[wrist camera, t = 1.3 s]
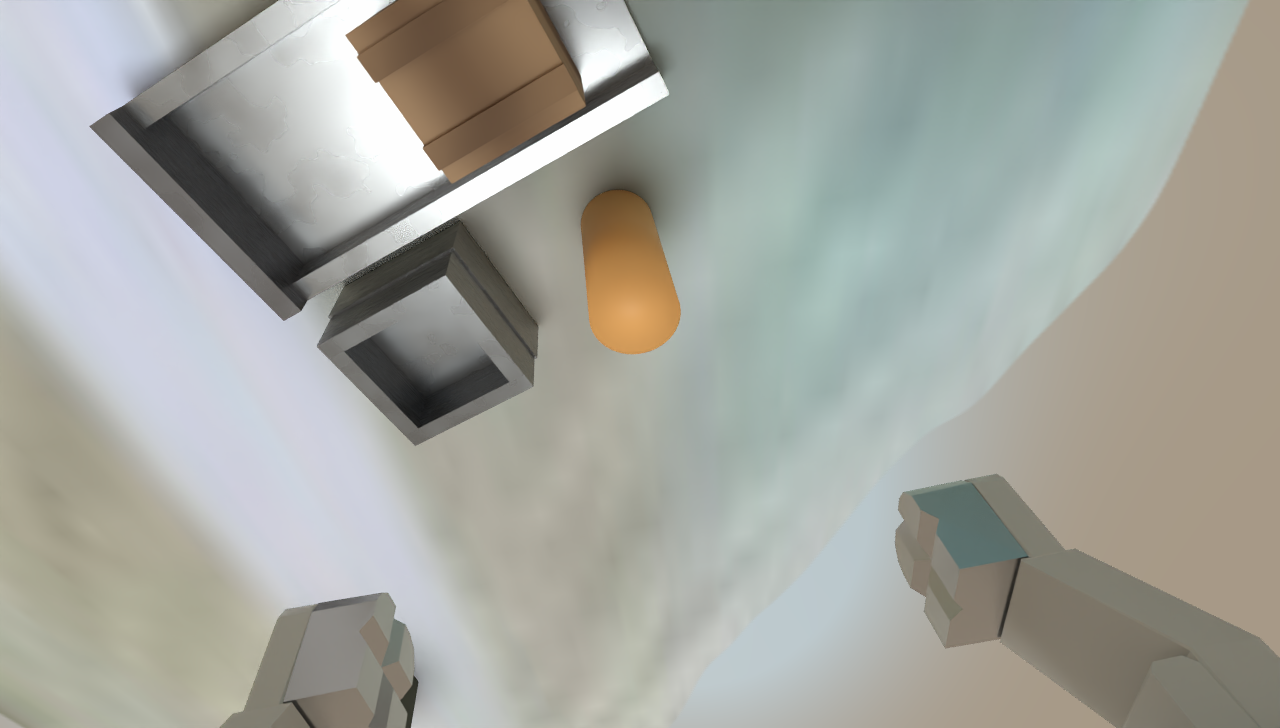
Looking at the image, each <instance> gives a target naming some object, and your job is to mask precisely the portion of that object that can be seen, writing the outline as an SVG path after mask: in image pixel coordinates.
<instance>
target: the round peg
mask: <svg viewBox="0 0 1280 728" xmlns="http://www.w3.org/2000/svg"><path fill="white" fill-rule="evenodd" d="M581 232H582V243H583V254H584V265H585V277H586V288H587V299H588V311H589V322H590V326H591V329H592V331H593V333H594V335H595V336H596V338H597V339H598V340H599V341H600V342H601V343H602V344H603V345H605V346H606V347H608V348H609V349H611V350H614V351H616V352H620V353H625V354H640V353H645V352H648V351H651V350H654V349H656V348H658V347H659V346H661V345H663V344H664V343H665V342H666V341H667V340H668V339H670V337H671V336H672V335H673V334H674V332H675V330H676V329H677V326H678V324H679V321H680V315H681V309H680V303H679V300H678V297H677V294H676V290H675V287H674V284H673V281H672V278H671V274H670V271H669V268H668V265H667V261H666V258H665V255H664V252H663V249H662V245H661V242H660V239H659V236H658V232H657V229H656V226H655V223H654V220H653V216H652V213H651V210H650V208H649V206H648V205H647V203H646V202H645V201H644V200H643V199H642V198H641V197H639V196H638V195H636V194H634V193H632V192H629V191H626V190H610V191H606V192H603V193H601V194H599V195H598V196H596V197H595V198H594V199H592V200H591V201H590V202H589V204H588V205H587V206H586V208H585V210H584V212H583V215H582V219H581Z"/></svg>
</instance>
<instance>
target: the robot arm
mask: <svg viewBox="0 0 1280 728" xmlns="http://www.w3.org/2000/svg"><path fill="white" fill-rule="evenodd" d="M898 511H899V512H900V514H901V516H902V517H903V519H904V521H903V522H902V524H901V525H900V526H899V527H898V528H897V529H896V536H895V547H896V552H897V558H898V562H899V565H900V567H901V570H902V572H903V574H904V576H905V578H906V580H907V582H908V584H909V585H910V588H912V589H914V590H915V591H917V592H919V593H920V594H922V595H923V596H925V597H926V601H925V608H924V612H925V614H926V616H927V618H928V619H929V621H930V623H931V625H932V626H933V628H934V630H935V632H936V633H937V635H938V637H939V639H940V640H941V642H942V644H943V646H944V647H945V648H950V647H956V646H962V645H968V644H974V643H980V642H985V641H991V640H997V639H1000V643H1002V644H1003V645H1005V646H1006V647H1007V648H1009V649H1010V650H1011V651H1013V652H1014V653H1015V654H1017V655H1018V656H1020V657H1021V658H1022V659H1024V660H1025V661H1026V662H1028V663H1029V664H1030V665H1032V666H1033V667H1035V668H1036V669H1037V670H1039V671H1040V672H1042V673H1043V674H1044V675H1045V676H1047V677H1048V678H1050V679H1051V680H1052V681H1054V682H1055V683H1056V684H1058V685H1059V686H1060V687H1062V688H1063V689H1064V690H1066V691H1068V692H1069V693H1070V694H1071V695H1073V696H1074V697H1075V698H1077V699H1078V700H1079V701H1081V702H1082V703H1084V704H1085V705H1087V706H1088V707H1089V708H1090V709H1092V710H1093V711H1094V712H1096V713H1097V714H1099V715H1100V716H1101V717H1103V718H1104V719H1105V720H1107V721H1108V722H1109V723H1111V724H1112V725H1114V726H1115V727H1116V728H1280V658H1279V657H1278V656H1277V655H1276V654H1275V653H1274V652H1273V651H1272V650H1271V649H1270V648H1269V647H1268V646H1267V645H1266V644H1265V643H1264V642H1263V641H1262V640H1261V639H1260V638H1259V637H1257V636H1255V635H1253V634H1251V633H1249V632H1247V631H1245V630H1242V629H1240V628H1238V627H1236V626H1234V625H1232V624H1230V623H1227V622H1226V621H1224V620H1222V619H1220V618H1217V617H1216V616H1214V615H1211V614H1209V613H1207V612H1205V611H1203V610H1201V609H1199V608H1197V607H1195V606H1193V605H1191V604H1189V603H1187V602H1184V601H1182V600H1180V599H1178V598H1176V597H1174V596H1172V595H1170V594H1168V593H1166V592H1164V591H1162V590H1160V589H1158V588H1156V587H1153V586H1151V585H1149V584H1147V583H1145V582H1143V581H1141V580H1139V579H1137V578H1135V577H1133V576H1131V575H1129V574H1127V573H1124V572H1123V571H1120V570H1118V569H1116V568H1114V567H1112V566H1110V565H1108V564H1106V563H1104V562H1102V561H1100V560H1098V559H1096V558H1093V557H1091V556H1089V555H1087V554H1085V553H1083V552H1081V551H1079V550H1077V549H1071V550H1065V549H1064V548H1063V547H1062V545H1061V544H1060V543H1059V542H1058V541H1057V539H1056V538H1055V537H1054V536H1053V535H1052V534H1051V533H1050V531H1049V530H1048V529H1047V528H1046V527H1045V525H1044V524H1043V523H1042V522H1041V521H1040V520H1039V518H1038V517H1037V516H1036V515H1035V514H1034V513H1033V511H1032V510H1031V509H1030V508H1029V507H1028V506H1027V504H1026V503H1025V502H1024V501H1023V500H1022V499H1021V498H1020V496H1019V495H1018V494H1017V493H1016V492H1015V490H1014V489H1013V488H1012V487H1011V486H1010V485H1009V483H1008V482H1007V481H1006V480H1005V479H1004V478H1003V477H1001V476H999V475H998V474H993V475H989V476H984V477H978V478H973V479H967V480H965V481H956V482H951V483H946V484H941V485H936V486H931V487H926V488H922V489H917V490H912V491H907V492H903V493H902V495H901V497H900V498H899V506H898ZM395 609H396V606H395V604H394V602H393V600H392V599H391V597H390V595H389V593H378V594H372V595H366V596H359V597H353V598H347V599H341V600H335V601H329V602H323V603H318V604H314V605H308V606H302V607H296V608H290V609H286V610H285V611H284V612H283V613H282V614H281V615H280V617H279V618H278V619H277V622H276V624H275V627H274V630H273V632H272V635H271V638H270V640H269V643H268V646H267V649H266V651H265V654H264V657H263V659H262V662H261V665H260V667H259V670H258V673H257V676H256V678H255V681H254V684H253V686H252V689H251V692H250V694H249V697H248V700H247V703H246V705H245V708H244V711H243V712H238V713H234V714H232V715H231V716H230V717H229V718H228V719H227V720H226V722H225V723H224V724H223V725H222V726H221V727H220V728H405V726H406V720H407V712H406V710H405V708H404V706H403V705H402V703H401V701H400V700H401V699H402V698H403V697H404V695H405V694H406V693H407V691H408V690H409V689H410V688H411V686H412V682H413V675H414V647H413V643H412V640H411V636H410V633H409V631H408V629H407V627H406V625H405V624H403V623H401V622H399V621H397V620H395V619H394V614H395Z"/></svg>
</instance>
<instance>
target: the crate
mask: <svg viewBox="0 0 1280 728" xmlns="http://www.w3.org/2000/svg"><path fill="white" fill-rule="evenodd" d="M345 36H346V37H347V39H348V40H349V42H350V43H351V44H352V46H353V47H354V49H355V50H356V51H357V53H358V54H359V55H358V56H357V59H358V60H359V62H360V63H361V64H362V66H363V67H364V69H365V70H366V71H367V73H368V74H369V75H370V77H371V78H372V80H373V81H374V82H375V84H376V83H377V82H379V83H380V85H381V86H382V88H383V89H384V90H385V92H386V93H387V94H388V96H389V97H390V99H391V100H392V101H393V103H394V104H395V106H396V107H397V108H398V110H399V111H400V113H401V114H402V115H403V117H404V118H405V120H406V121H407V122H408V124H409V125H410V127H411V128H412V129H413V131H414V132H415V133H416V135H417V136H418V138H419V139H420V140H421V142H422V143H423V145H424V146H423V148H422V149H423V150H424V152H425V153H426V154H427V156H428V157H429V159H430V160H431V161H432V163H433V164H434V165H435V167H436V168H437V170H438V171H440V170H442V171H443V172H444V174H445V175H446V177H447V178H448V179H449V181H450V182H451V184H453V183H454V182H456V181H458V180H460V179H461V178H463V177H465V176H466V175H468V174H470V173H472V172H473V171H475V170H477V169H478V168H480V167H482V166H484V165H485V164H487V163H489V162H491V161H492V160H494V159H496V158H497V157H499V156H501V155H503V154H504V153H506V152H508V151H510V150H511V149H513V148H515V147H516V146H518V145H520V144H522V143H523V142H525V141H527V140H528V139H530V138H532V137H534V136H535V135H537V134H539V133H541V132H542V131H544V130H546V129H547V128H549V127H551V126H553V125H554V124H556V123H558V122H560V121H561V120H563V119H565V118H566V117H568V116H570V115H572V114H573V113H575V112H577V111H578V110H580V109H582V108H584V107H585V106H586V103H585V97H584V90H583V84H582V78H581V75H580V73H579V71H578V69H577V68H576V66H575V64H574V62H573V60H572V58H571V57H570V55H569V53H568V51H567V49H566V47H565V46H564V44H563V42H562V40H561V38H560V36H559V35H558V33H557V31H556V29H555V27H554V25H553V24H552V22H551V20H550V18H549V16H548V14H547V13H546V11H545V9H544V7H543V5H542V3H541V2H540V0H396V1H394V2H393V3H391V4H390V5H388V6H387V7H385V8H384V9H382V10H381V11H379V12H378V13H376V14H375V15H373V16H372V17H370V18H369V19H367V20H366V21H365V22H363V23H362V24H360V25H359V26H357V27H356V28H355V29H353V30H352V31H350V32H349V33H348V34H346V35H345Z"/></svg>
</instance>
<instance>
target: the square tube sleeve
mask: <svg viewBox="0 0 1280 728" xmlns="http://www.w3.org/2000/svg"><path fill="white" fill-rule="evenodd" d="M329 318H330V321H329V323H328V325H327V327H326V329H325V331H324V333H323V335H322V337H321V339H320V341H319V343H318V345H317V347H318V348H319V349H320V350H321V351H322V352H323V353H324V354H325V355H326V356H327V357H328V358H329V359H330V360H331V361H332V362H333V363H334V364H335V365H336V367H337V368H338V369H339V370H340V371H341V372H342V373H343V374H344V375H345V376H346V377H347V378H348V379H349V380H350V381H351V382H352V383H353V384H354V385H355V386H356V387H357V388H358V389H359V390H360V391H361V392H362V393H363V394H364V395H365V396H366V397H367V398H368V399H369V400H370V401H371V402H372V403H373V404H374V405H375V406H376V407H377V408H378V409H379V410H380V411H381V412H382V413H383V414H384V415H385V416H386V417H387V418H388V419H389V420H390V421H391V422H392V423H393V424H394V425H395V426H396V427H397V428H398V429H399V430H400V431H401V432H402V433H403V434H404V435H405V436H406V437H407V438H408V439H409V440H410V441H411V442H412V443H413V444H414V445H415V446H416V445H418V444H420V443H422V442H424V441H426V440H428V439H430V438H432V437H434V436H436V435H438V434H440V433H442V432H444V431H446V430H448V429H450V428H452V427H454V426H456V425H458V424H460V423H462V422H464V421H466V420H468V419H470V418H472V417H474V416H476V415H478V414H480V413H482V412H484V411H486V410H488V409H490V408H492V407H494V406H496V405H498V404H500V403H502V402H504V401H506V400H508V399H510V398H512V397H514V396H516V395H518V394H520V393H522V392H524V391H526V390H528V389H530V388H532V387H533V384H534V359H536V358H537V349H538V326H537V325H536V323H535V322H534V321H533V319H532V318H531V317H530V315H529V314H528V312H527V311H526V310H525V308H524V307H523V306H522V304H521V303H520V302H519V300H518V299H517V298H516V296H515V295H514V293H513V292H512V291H511V289H510V288H509V287H508V285H507V284H506V283H505V281H504V280H503V278H502V277H501V276H500V274H499V273H498V272H497V270H496V269H495V268H494V266H493V265H492V264H491V262H490V261H489V259H488V258H487V257H486V255H485V254H484V253H483V251H482V250H481V249H480V247H479V246H478V245H477V243H476V242H475V240H474V239H473V238H472V236H471V235H470V234H469V232H468V231H467V230H466V228H465V227H464V226H463V224H462V223H461V221H459V222H457V223H456V224H454V225H452V226H450V227H449V228H447V229H445V230H443V231H442V232H440V233H438V234H436V235H434V236H433V237H431V238H429V239H427V240H426V241H424V242H422V243H420V244H419V245H417V246H415V247H413V248H412V249H410V250H408V251H406V252H404V253H403V254H401V255H399V256H397V257H396V258H394V259H392V260H390V261H389V262H387V263H385V264H383V265H382V266H380V267H378V268H376V269H374V270H373V271H371V272H369V273H367V274H366V275H364V276H362V277H360V278H359V279H357V280H355V281H353V282H352V283H350V284H348V285H346V286H344V288H343V290H342V292H341V294H340V295H339V297H338V299H337V301H336V303H335V305H334V307H333V309H332V311H331V313H330V315H329Z"/></svg>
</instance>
